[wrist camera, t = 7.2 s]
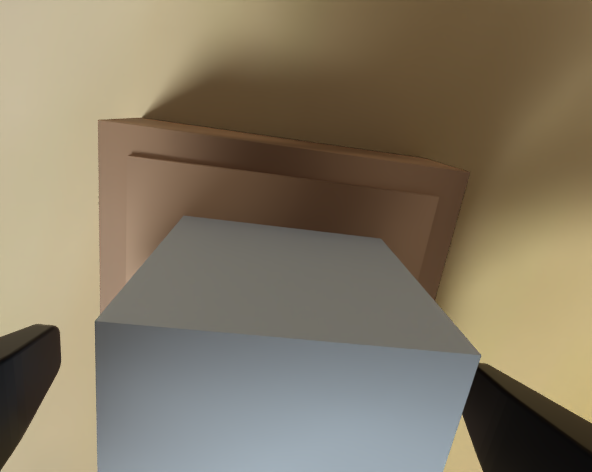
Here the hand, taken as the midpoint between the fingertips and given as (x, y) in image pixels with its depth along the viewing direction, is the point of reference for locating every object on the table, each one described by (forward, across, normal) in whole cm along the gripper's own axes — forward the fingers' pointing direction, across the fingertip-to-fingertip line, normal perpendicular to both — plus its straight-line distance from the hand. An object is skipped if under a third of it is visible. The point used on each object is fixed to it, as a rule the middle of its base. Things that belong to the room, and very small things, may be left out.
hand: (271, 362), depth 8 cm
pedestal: (+5, 0, 0) cm, 5 cm away
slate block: (+2, 0, 0) cm, 2 cm away
